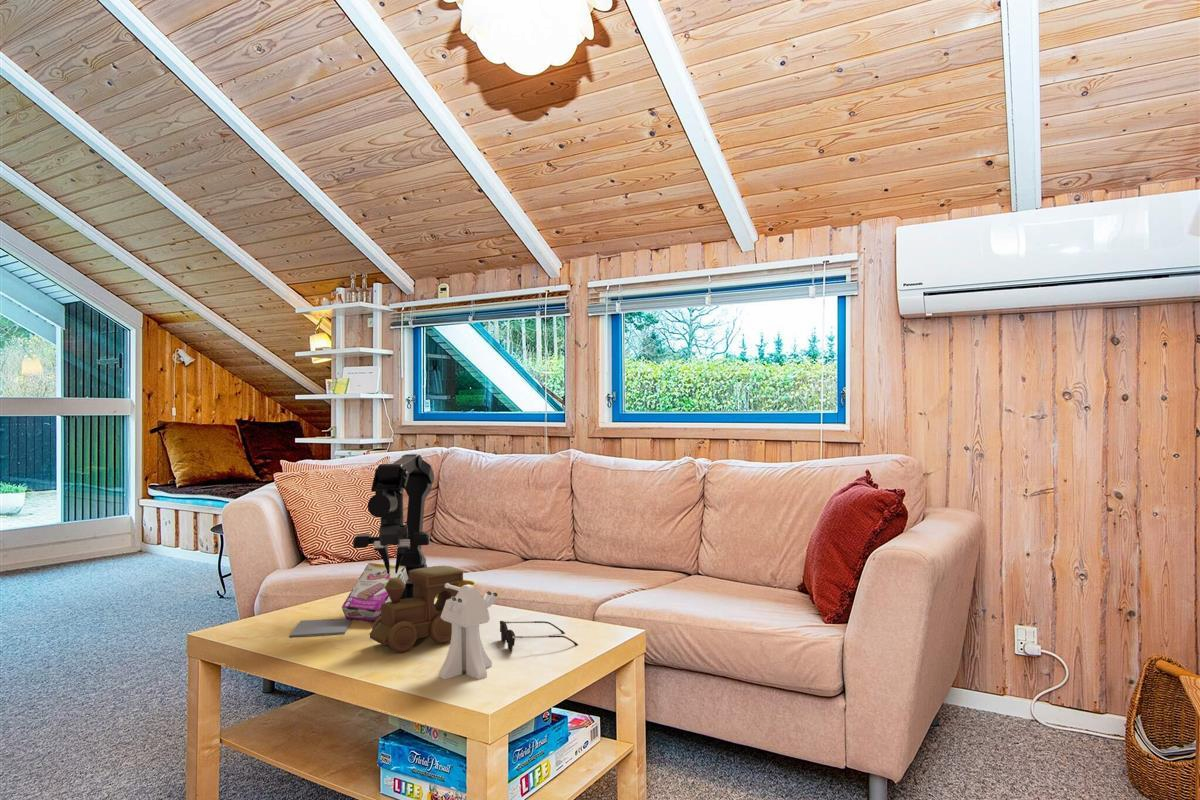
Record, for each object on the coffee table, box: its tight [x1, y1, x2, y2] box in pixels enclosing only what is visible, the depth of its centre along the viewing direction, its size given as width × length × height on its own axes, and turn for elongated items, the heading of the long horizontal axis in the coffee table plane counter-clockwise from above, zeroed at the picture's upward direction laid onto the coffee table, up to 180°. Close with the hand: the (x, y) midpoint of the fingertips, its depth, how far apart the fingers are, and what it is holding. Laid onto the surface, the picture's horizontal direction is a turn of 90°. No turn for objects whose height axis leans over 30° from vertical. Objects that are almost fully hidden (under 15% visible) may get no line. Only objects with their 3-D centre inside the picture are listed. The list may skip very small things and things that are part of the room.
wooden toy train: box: [369, 565, 464, 653], centre depth 188 cm, size 20×11×17 cm, turn 129°
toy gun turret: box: [438, 583, 499, 680], centre depth 167 cm, size 12×13×18 cm
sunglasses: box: [499, 620, 579, 653], centre depth 187 cm, size 14×16×5 cm
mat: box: [288, 617, 353, 638], centre depth 202 cm, size 13×14×1 cm
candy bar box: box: [341, 562, 409, 624], centre depth 212 cm, size 11×5×16 cm
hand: (392, 573), depth 206 cm, fingers closed
